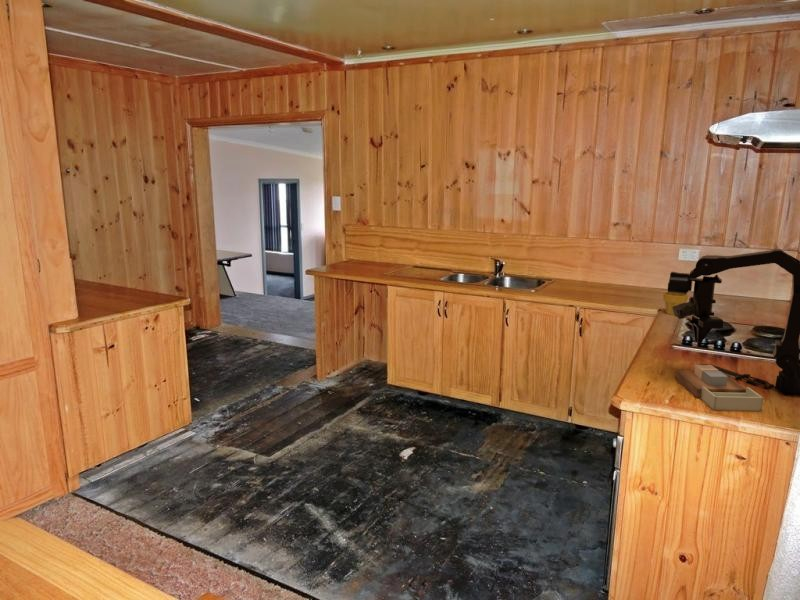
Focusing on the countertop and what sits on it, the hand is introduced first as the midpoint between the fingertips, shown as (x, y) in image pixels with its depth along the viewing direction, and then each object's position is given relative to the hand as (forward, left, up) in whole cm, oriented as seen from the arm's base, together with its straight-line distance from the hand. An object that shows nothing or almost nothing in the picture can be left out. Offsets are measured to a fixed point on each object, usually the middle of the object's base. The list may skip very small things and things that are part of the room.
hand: (698, 342), depth 179 cm
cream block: (0, +8, -9) cm, 12 cm away
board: (0, +10, -12) cm, 16 cm away
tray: (-1, +23, -12) cm, 26 cm away
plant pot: (-27, -86, -12) cm, 91 cm away
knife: (-13, -2, -13) cm, 18 cm away
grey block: (0, +13, -9) cm, 16 cm away
